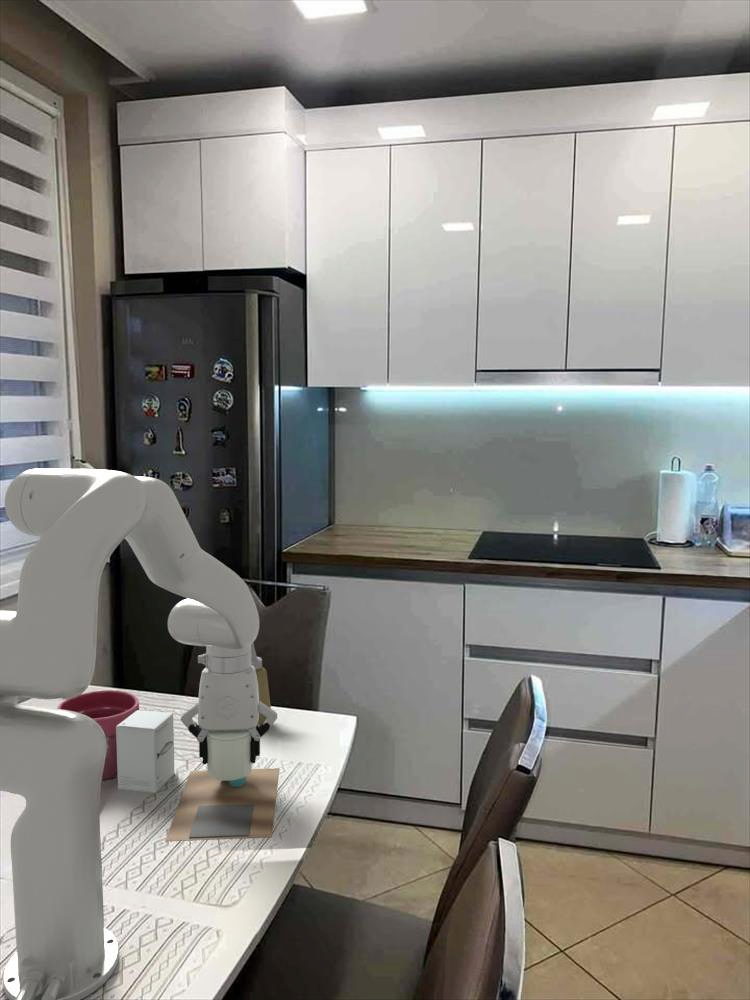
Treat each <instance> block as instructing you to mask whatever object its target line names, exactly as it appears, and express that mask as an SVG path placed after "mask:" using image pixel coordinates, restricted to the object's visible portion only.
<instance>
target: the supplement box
mask: <svg viewBox="0 0 750 1000" xmlns="http://www.w3.org/2000/svg"><path fill="white" fill-rule="evenodd" d="M174 733H175V732H174V712H165V711H152V710H140V709H139V710H137V711H135V712H134V713H133V714H132V715H130V716H129V717H128V718H126V719H125V720H124V721H122V722H121V723H120V724H119V725H117V726H116V741H117V772H118V775H117V789H118V790H122V791H123V790H124V791H130V792H132V791H133V792H141V793H151V794H156V793H157V792H158V791H159V790H161V788H163V786H164V785H165V784H167V782H169V780H170V779H171V778H172V777H173V776H174V775H175V736H174Z"/></svg>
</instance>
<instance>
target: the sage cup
mask: <svg viewBox="0 0 750 1000" xmlns="http://www.w3.org/2000/svg"><path fill="white" fill-rule="evenodd" d="M251 739H252V735H251V734H250V732H249V730H222V731H209V732H208V734H207V763H206V768H207V770H206V771H207V774H208V775H209V776H210V777H211V778H213V779H217V780H221V781H228V780H237V779H240V778H244V777H246V776H247V775H248V774H250V773H251V772H252V769H253V763H252V762H251Z"/></svg>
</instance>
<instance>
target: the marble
mask: <svg viewBox="0 0 750 1000" xmlns="http://www.w3.org/2000/svg"><path fill="white" fill-rule="evenodd" d="M245 781H246V777H244V778H240V779H237V780H229V783H230V784H231V785H232V786H233V787H241V786H242V785H243V784H244V783H245Z"/></svg>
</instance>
